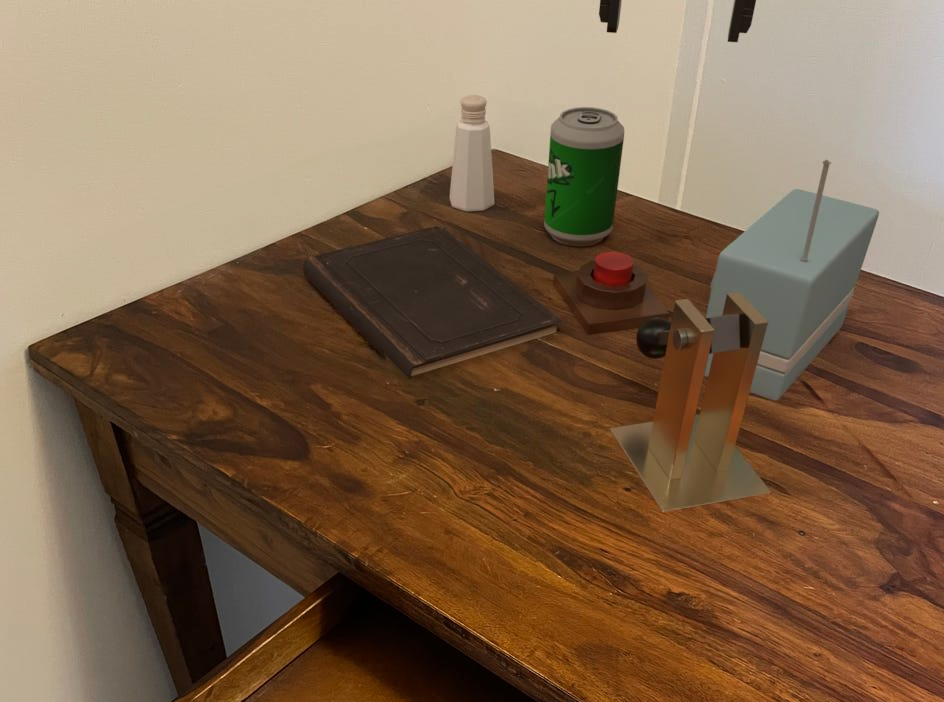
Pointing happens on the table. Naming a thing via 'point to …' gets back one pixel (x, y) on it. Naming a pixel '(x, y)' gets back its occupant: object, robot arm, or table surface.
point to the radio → (795, 279)
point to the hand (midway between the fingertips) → (672, 34)
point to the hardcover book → (427, 299)
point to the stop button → (613, 268)
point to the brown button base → (608, 300)
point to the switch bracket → (706, 434)
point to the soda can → (583, 175)
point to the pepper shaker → (472, 159)
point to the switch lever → (657, 332)
